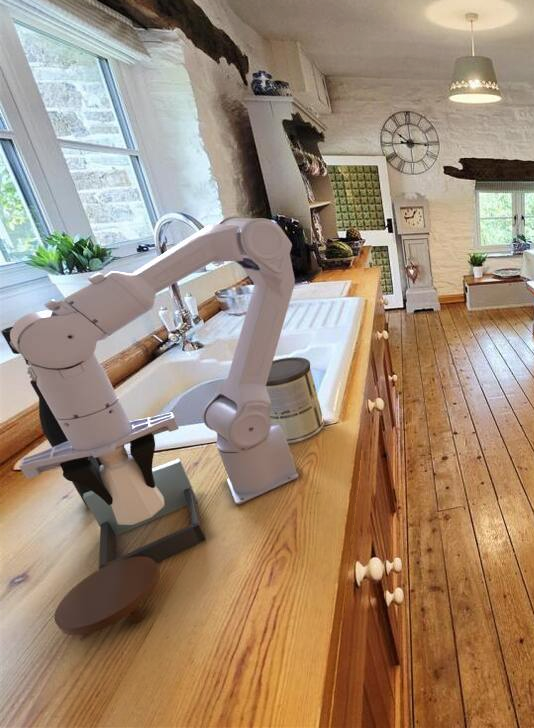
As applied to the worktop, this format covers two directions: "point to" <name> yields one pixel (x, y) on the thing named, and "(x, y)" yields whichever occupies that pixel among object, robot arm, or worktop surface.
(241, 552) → the worktop surface
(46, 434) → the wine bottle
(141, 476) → the salt shaker
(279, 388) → the coffee can
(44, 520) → the worktop surface
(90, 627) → the stool
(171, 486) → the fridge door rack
